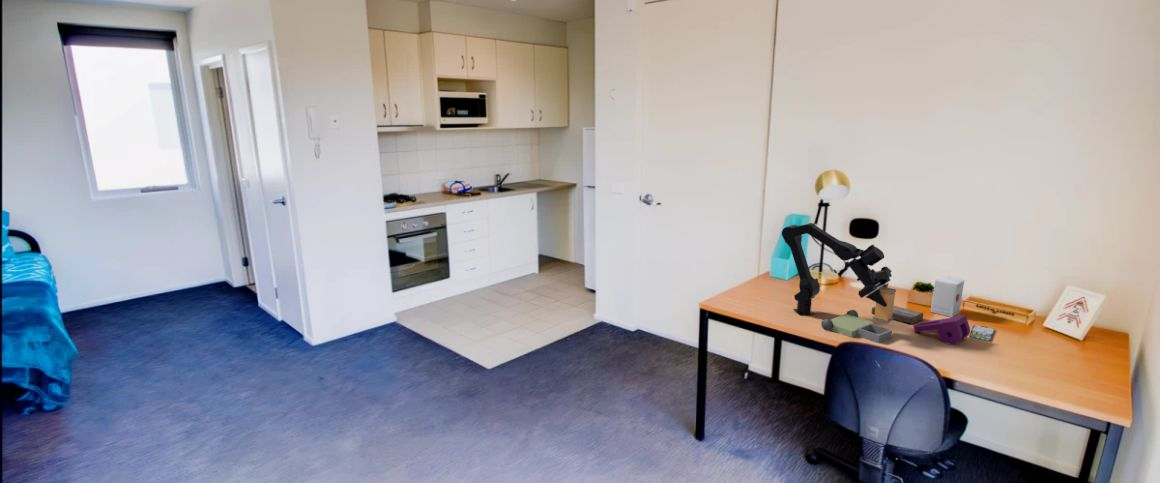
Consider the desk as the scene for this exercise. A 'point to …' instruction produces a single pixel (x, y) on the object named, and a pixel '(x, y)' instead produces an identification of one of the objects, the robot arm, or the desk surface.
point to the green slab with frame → (856, 327)
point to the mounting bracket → (947, 328)
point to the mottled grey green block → (982, 333)
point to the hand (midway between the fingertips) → (888, 304)
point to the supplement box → (947, 296)
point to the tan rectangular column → (886, 312)
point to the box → (904, 314)
